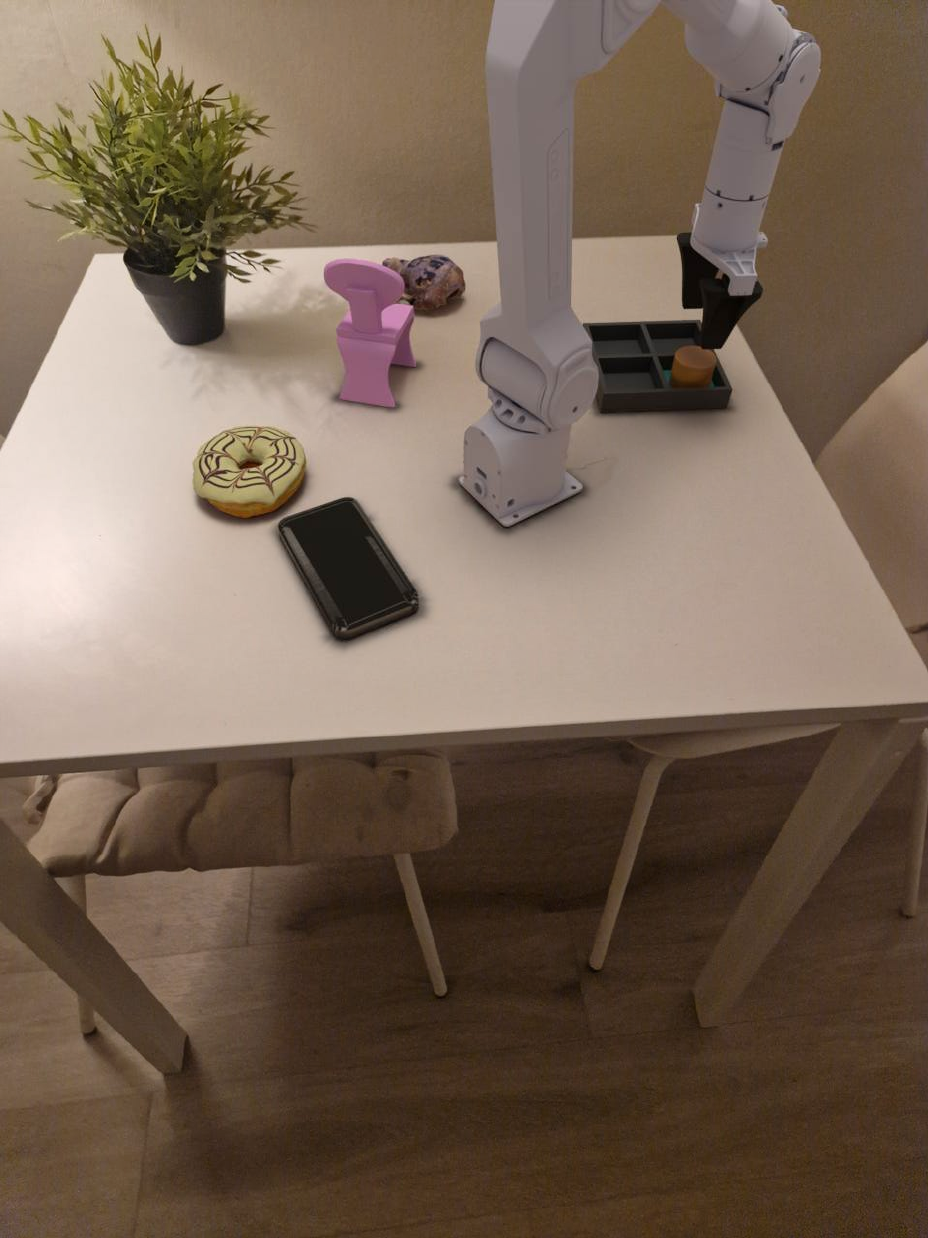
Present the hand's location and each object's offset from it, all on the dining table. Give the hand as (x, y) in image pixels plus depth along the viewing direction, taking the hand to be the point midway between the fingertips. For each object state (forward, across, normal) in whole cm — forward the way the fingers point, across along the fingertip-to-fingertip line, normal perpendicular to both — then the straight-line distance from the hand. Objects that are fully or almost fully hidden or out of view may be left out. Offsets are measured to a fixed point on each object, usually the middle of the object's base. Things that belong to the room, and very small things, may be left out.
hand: (701, 326), depth 82 cm
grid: (+8, +3, +3) cm, 9 cm away
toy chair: (+8, +4, +34) cm, 35 cm away
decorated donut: (+8, -13, +46) cm, 48 cm away
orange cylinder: (+7, 0, 0) cm, 7 cm away
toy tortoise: (+8, +22, +28) cm, 37 cm away
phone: (+8, -25, +36) cm, 45 cm away
